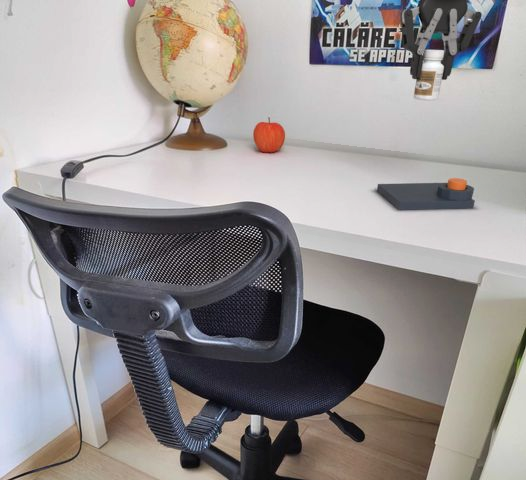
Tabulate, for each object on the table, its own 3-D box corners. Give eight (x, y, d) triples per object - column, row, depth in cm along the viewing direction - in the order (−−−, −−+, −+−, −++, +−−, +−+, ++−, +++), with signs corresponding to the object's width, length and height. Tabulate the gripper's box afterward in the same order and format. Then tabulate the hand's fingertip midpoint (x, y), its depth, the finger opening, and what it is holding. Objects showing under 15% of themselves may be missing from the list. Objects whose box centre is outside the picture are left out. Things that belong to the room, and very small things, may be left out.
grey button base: (446, 189, 99) (449, 174, 97) (476, 208, 89) (480, 191, 87) (376, 191, 97) (378, 175, 95) (398, 210, 87) (401, 193, 85)
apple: (253, 154, 122) (253, 119, 118) (253, 148, 129) (253, 114, 124) (285, 155, 122) (286, 120, 118) (283, 148, 129) (285, 115, 125)
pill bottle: (408, 98, 91) (416, 49, 87) (421, 97, 93) (430, 49, 89) (429, 101, 88) (438, 50, 84) (442, 99, 91) (452, 50, 86)
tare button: (460, 186, 91) (462, 177, 90) (468, 191, 88) (470, 182, 88) (443, 186, 91) (445, 178, 90) (451, 191, 88) (453, 182, 87)
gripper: (417, -46, 76) (398, 80, 85) (504, -42, 77) (476, 81, 87) (400, -41, 82) (384, 77, 91) (481, -37, 83) (457, 77, 93)
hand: (429, 78), depth 89 cm, fingers closed on pill bottle, 4 cm apart
